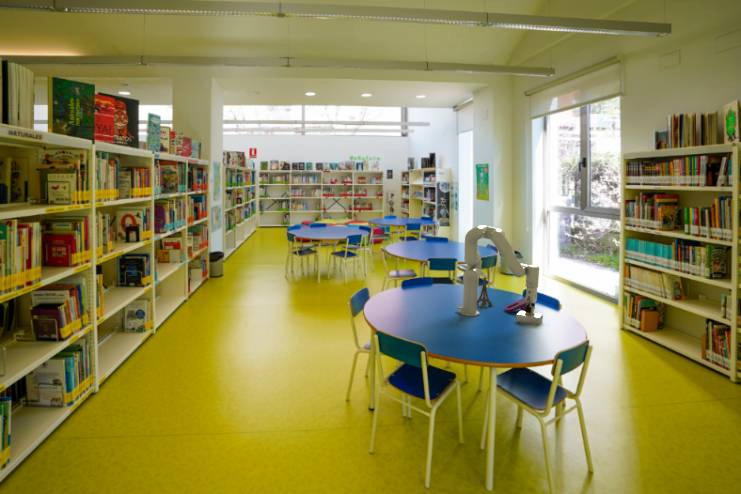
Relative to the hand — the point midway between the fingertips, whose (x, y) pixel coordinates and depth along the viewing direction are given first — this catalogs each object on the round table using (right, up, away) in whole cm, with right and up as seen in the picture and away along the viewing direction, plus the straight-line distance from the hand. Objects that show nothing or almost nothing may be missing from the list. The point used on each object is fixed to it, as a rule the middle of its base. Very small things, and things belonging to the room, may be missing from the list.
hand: (530, 310), depth 286 cm
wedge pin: (0, -7, +1) cm, 7 cm away
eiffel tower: (-20, -2, +37) cm, 42 cm away
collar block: (0, -7, +1) cm, 7 cm away
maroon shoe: (0, -4, +23) cm, 24 cm away
